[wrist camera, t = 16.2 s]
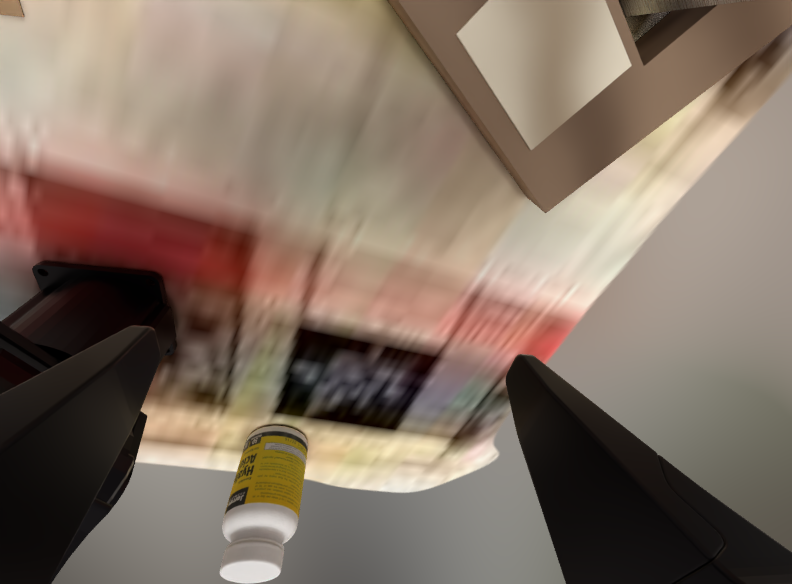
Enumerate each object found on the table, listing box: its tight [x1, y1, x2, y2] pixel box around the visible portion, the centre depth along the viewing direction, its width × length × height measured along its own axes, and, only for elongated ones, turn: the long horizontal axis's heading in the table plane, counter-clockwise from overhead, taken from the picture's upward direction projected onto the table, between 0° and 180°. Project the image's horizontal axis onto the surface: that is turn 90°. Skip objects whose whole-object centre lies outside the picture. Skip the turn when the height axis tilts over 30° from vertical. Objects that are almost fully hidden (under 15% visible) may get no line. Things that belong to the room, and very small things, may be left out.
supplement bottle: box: [220, 426, 308, 583], centre depth 28 cm, size 5×5×10 cm
